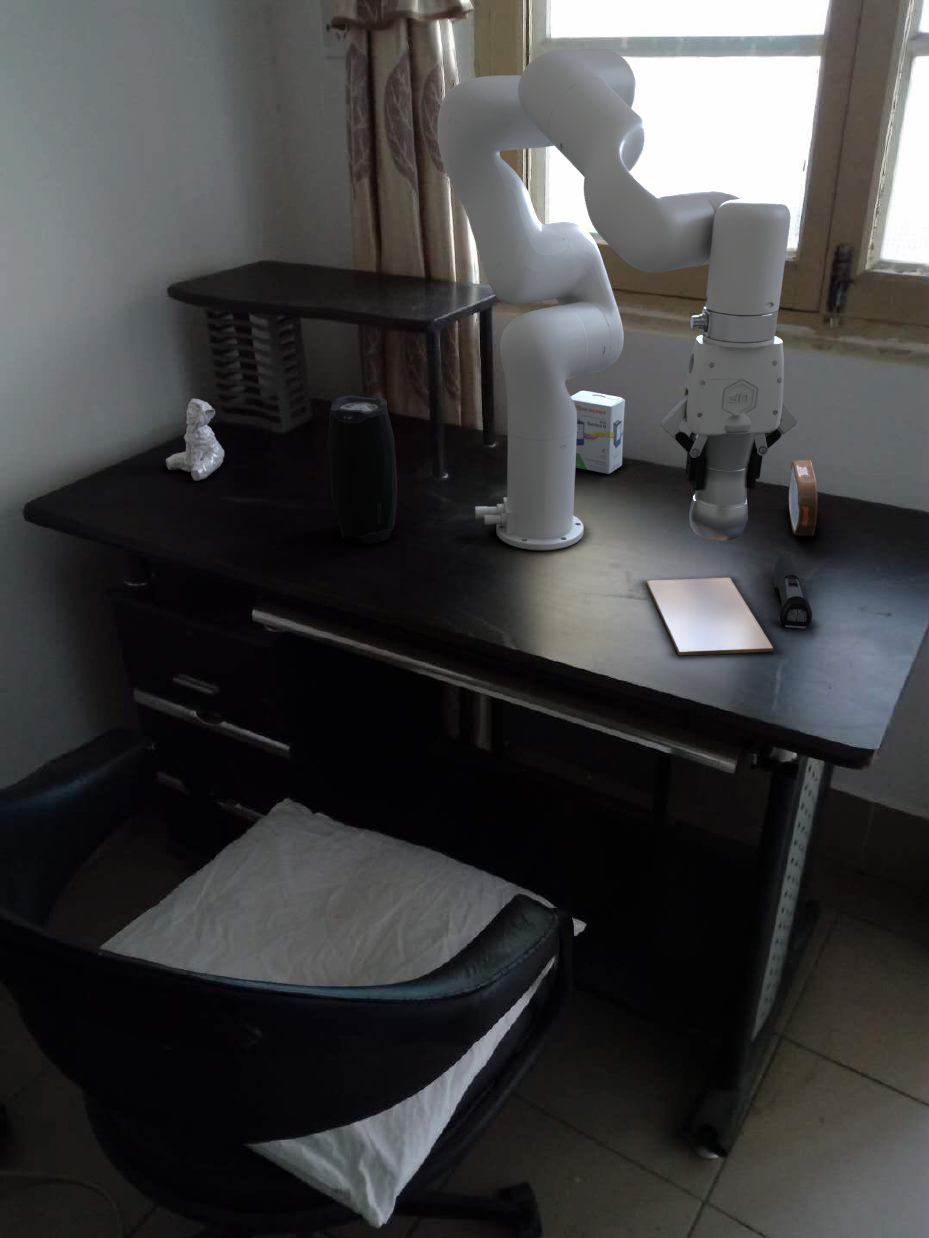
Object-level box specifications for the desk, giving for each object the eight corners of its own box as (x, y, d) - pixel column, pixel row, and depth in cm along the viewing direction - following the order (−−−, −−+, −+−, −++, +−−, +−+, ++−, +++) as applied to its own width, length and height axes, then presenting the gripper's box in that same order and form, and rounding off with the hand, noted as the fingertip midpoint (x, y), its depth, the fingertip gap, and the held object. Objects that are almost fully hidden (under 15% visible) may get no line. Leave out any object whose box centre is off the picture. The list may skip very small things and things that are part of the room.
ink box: (622, 466, 169) (627, 397, 163) (608, 475, 165) (612, 405, 160) (577, 456, 173) (580, 389, 168) (562, 465, 170) (565, 396, 164)
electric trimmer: (797, 573, 134) (801, 551, 133) (812, 629, 121) (816, 605, 120) (768, 571, 135) (771, 549, 134) (779, 626, 122) (783, 603, 120)
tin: (814, 546, 141) (823, 489, 137) (790, 544, 142) (799, 488, 138) (804, 504, 154) (813, 451, 150) (783, 503, 154) (791, 450, 150)
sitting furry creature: (163, 469, 171) (151, 400, 165) (205, 455, 177) (195, 388, 171) (197, 482, 166) (186, 411, 160) (239, 467, 171) (230, 398, 165)
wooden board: (678, 655, 116) (679, 651, 116) (646, 583, 132) (646, 580, 132) (773, 651, 117) (773, 648, 117) (729, 580, 132) (729, 577, 132)
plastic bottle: (742, 550, 115) (766, 377, 106) (682, 542, 117) (701, 372, 107) (747, 528, 121) (771, 362, 111) (690, 521, 123) (708, 357, 113)
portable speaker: (333, 524, 150) (322, 395, 141) (395, 519, 151) (389, 391, 142) (337, 548, 143) (325, 414, 133) (402, 542, 144) (396, 409, 135)
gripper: (667, 337, 103) (654, 501, 112) (832, 332, 104) (806, 495, 113) (651, 320, 110) (640, 476, 119) (806, 315, 111) (784, 471, 120)
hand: (721, 484), depth 116 cm, fingers closed on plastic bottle, 5 cm apart
